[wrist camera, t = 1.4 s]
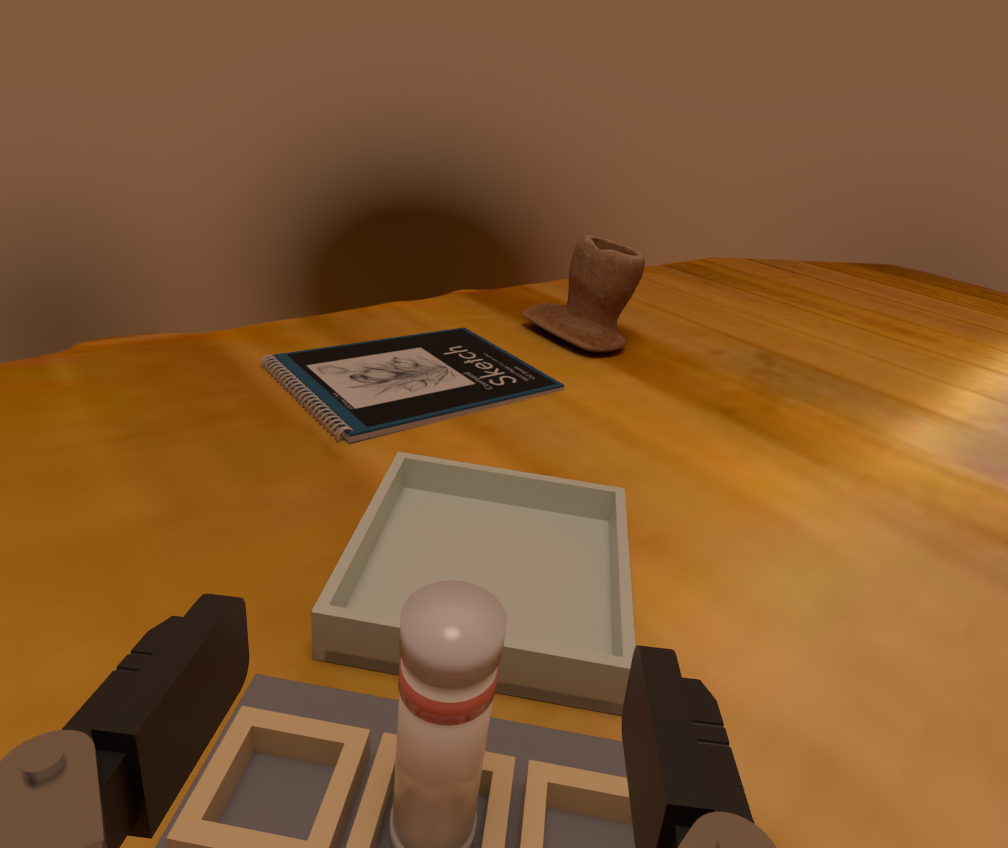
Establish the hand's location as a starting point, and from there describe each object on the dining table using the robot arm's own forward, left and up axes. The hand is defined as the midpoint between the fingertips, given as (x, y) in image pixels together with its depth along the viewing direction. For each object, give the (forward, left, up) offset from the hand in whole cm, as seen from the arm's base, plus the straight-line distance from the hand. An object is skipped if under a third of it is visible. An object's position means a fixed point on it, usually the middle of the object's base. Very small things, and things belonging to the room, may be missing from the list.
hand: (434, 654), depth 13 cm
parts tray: (-21, +20, -23) cm, 37 cm away
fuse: (-7, +6, -22) cm, 23 cm away
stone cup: (-57, +64, -23) cm, 88 cm away
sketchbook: (-55, +34, -24) cm, 69 cm away
